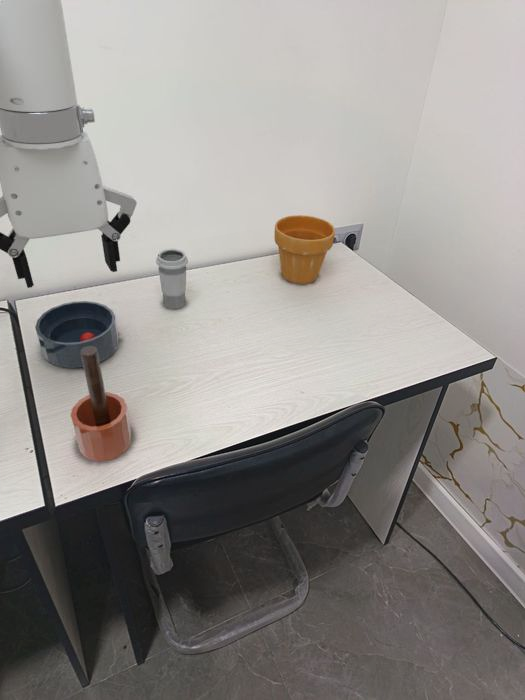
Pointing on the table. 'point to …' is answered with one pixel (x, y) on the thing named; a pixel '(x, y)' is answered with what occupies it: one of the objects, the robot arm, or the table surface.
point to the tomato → (87, 336)
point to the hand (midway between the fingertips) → (71, 274)
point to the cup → (172, 277)
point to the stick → (95, 385)
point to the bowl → (76, 332)
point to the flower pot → (303, 246)
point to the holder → (102, 429)
